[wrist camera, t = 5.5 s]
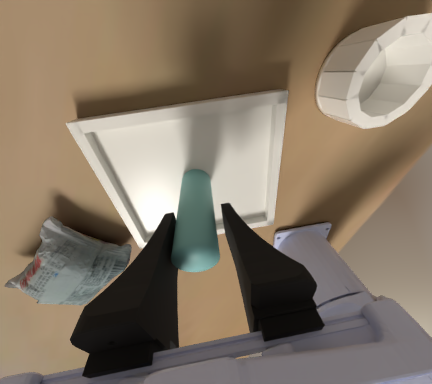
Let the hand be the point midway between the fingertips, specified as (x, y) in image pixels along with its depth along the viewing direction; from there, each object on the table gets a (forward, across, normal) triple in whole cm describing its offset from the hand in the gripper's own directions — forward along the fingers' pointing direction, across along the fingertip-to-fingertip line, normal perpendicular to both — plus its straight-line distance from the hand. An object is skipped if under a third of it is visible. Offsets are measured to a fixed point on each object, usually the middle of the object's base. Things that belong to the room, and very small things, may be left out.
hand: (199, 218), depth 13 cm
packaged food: (+6, +16, +7) cm, 19 cm away
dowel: (+5, 0, 0) cm, 5 cm away
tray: (+6, 0, 0) cm, 6 cm away
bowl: (+6, -14, -7) cm, 17 cm away
